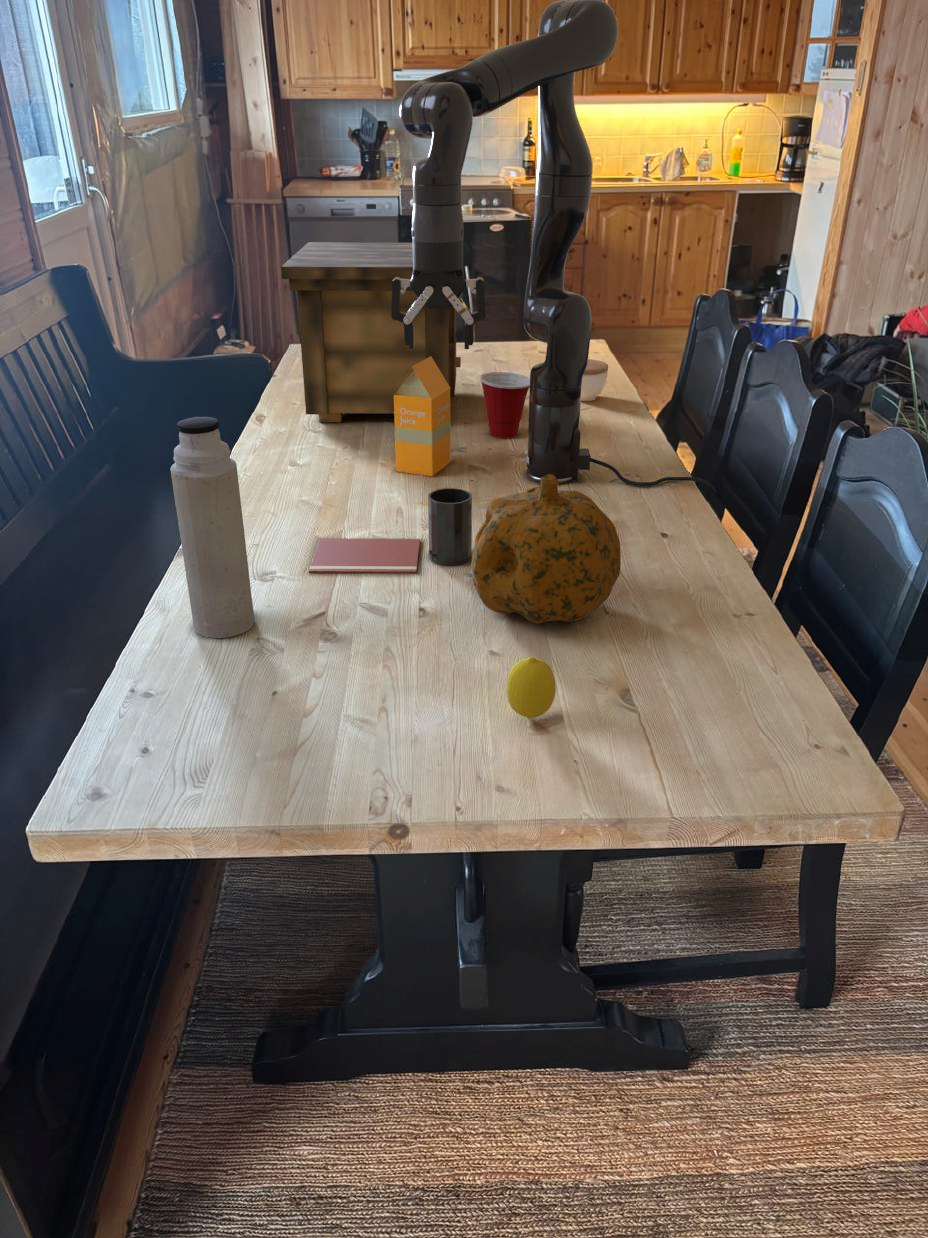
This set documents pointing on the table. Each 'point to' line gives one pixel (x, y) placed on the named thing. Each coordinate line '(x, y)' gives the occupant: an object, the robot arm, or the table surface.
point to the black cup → (450, 526)
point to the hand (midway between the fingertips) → (439, 348)
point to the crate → (362, 327)
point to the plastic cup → (504, 401)
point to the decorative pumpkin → (545, 554)
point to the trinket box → (593, 379)
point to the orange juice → (422, 420)
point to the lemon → (531, 687)
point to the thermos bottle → (211, 530)
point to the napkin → (366, 556)
